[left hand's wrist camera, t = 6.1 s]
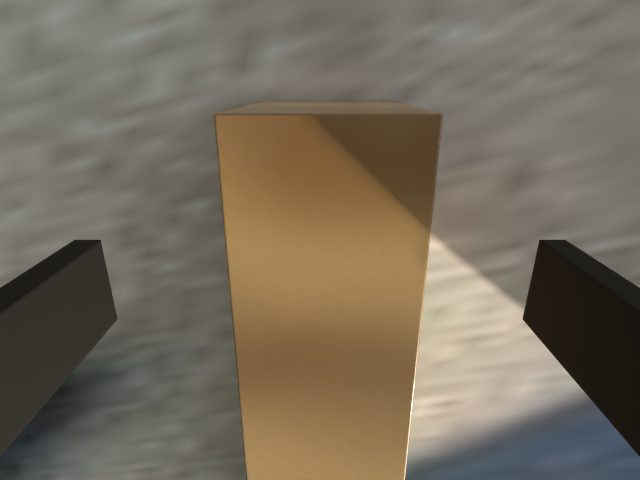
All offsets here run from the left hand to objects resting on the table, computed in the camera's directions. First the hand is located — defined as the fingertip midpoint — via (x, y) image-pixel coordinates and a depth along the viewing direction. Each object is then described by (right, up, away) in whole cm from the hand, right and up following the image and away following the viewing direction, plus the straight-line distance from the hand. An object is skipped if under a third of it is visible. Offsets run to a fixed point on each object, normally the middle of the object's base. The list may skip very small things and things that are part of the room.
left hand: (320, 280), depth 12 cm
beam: (0, -24, +16) cm, 29 cm away
